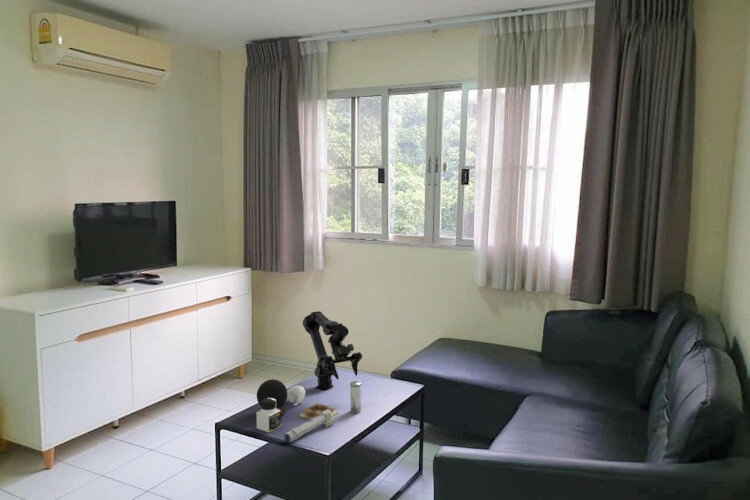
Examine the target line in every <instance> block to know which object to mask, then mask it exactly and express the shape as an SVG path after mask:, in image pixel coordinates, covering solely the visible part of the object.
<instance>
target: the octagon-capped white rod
mask: <svg viewBox="0 0 750 500" xmlns="http://www.w3.org/2000/svg"><path fill="white" fill-rule="evenodd" d="M334 424H335V416H334V415H332V412H331V410H325V411H323V413H322V415H320V416H318V417H316V418H314V419H312V420H309V421H306V422H304V423H302V424H300V425H299V426H297V427H295V428H291V429H290V430H289V431H287V432H286V433H285V434H283V440H284V441H285V443H287V444H290V443H293V442H295V441H297V440H298V439H299V438H300V437H302V436H304V435H305V434H307V433H308V432H310V431H312V430H313V429H314V428H316V427H318V426H319V425H321V427H322V428H328V427H332V426H333V425H334Z"/></svg>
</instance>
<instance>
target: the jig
mask: <svg viewBox="0 0 750 500" xmlns="http://www.w3.org/2000/svg"><path fill="white" fill-rule="evenodd" d="M325 410H331V412H332V415H334V417H335V416H337V415H339V411H337V410H334V407H332V406H329V405H325V404H322V403H318V402H317V403H315V404H314V405H311V406H310V407H307V408H305V409H304V410H303V411H304V412H302V413H300V414H299V417H300V418H303V419H306V420H309V421H310V420H312V419H314V418H316V417H318V416H320V415H322V413H323V411H325Z"/></svg>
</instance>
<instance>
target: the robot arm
mask: <svg viewBox="0 0 750 500" xmlns="http://www.w3.org/2000/svg"><path fill="white" fill-rule="evenodd" d="M302 326H303V329H305V332H307V333H308V334H309V335H310V338H311V342H312V345H313V347H314V350H315V355H316V356H317V362H316V367H315V370H314V371H313V372H314V376H315V377H316V378H317V386H315V389H319V390H323V391H328V390H329V389H332V388H334V385H333V379H332V376H333V377H334V378H335V379H336V380H340V379H339V374H338V372H337V369H336V364H339V363H340V364H341V363H344V362H345V363H346V362H350V363H351V364H350V365H351V368H352V370H353V373H354V376H356V377H357V376H358V365H359V362H360V361H362V358H363V354H362V353H361V352H353V351H354V350H355V348H354V345H353V343H349V344H347V346H346V345H345V344H344V343H343V341H344V340H345V339H346V337H348V334H349V328H347V326H345V325H343V323H339V322H337V321H335V320H330V319H329V318H328V317H326V316H325V314H324V313H322V311H320V310H319V311H318V310H317V311H313V312H312V311H311V313H309V314H308V315H307V316H305V317H303V320H302ZM320 328H322V332H323V334H324V335H325V336H329V338H328V340H327V343H328V344H330V348H331V354H332V355H333V357H334V358H333V357H332V356H331V355H330V356H329V355H328V353H327V350H326V347H325V345H324V342H323V338H322V335H321V332H320ZM352 352H353V353H352ZM351 353H352V354H351ZM350 354H351V355H350Z"/></svg>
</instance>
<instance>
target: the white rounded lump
mask: <svg viewBox="0 0 750 500" xmlns="http://www.w3.org/2000/svg"><path fill="white" fill-rule="evenodd" d="M305 395H306V390H305V388H304V386H301V385H294V386H291V387H289V389H288V390H287V399H286V402H288V401H290V403H293V406H294V407H296V406H298V405H299V404H301V403H302V402H303V401H304V399H305ZM294 400H296V402H295V401H294Z"/></svg>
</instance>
